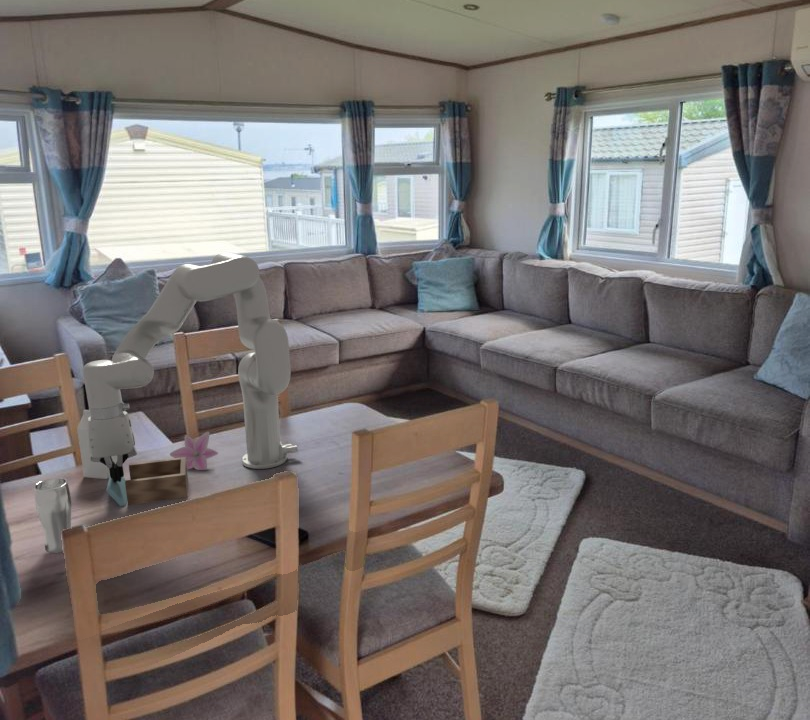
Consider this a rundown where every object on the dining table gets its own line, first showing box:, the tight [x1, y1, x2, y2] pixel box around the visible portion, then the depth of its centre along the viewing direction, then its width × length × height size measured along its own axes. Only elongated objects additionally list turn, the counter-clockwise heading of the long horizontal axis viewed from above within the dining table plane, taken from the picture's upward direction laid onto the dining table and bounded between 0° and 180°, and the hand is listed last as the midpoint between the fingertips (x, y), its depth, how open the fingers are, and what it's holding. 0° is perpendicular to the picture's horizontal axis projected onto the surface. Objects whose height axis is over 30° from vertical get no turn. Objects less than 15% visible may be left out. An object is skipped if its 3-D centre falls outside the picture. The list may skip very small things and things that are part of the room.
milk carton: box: [76, 409, 117, 480], centre depth 186 cm, size 7×7×19 cm
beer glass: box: [33, 477, 73, 554], centre depth 151 cm, size 7×7×15 cm
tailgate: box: [105, 477, 128, 507], centre depth 173 cm, size 1×12×6 cm
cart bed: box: [125, 457, 189, 506], centre depth 176 cm, size 14×12×7 cm
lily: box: [169, 431, 219, 471], centre depth 192 cm, size 12×12×10 cm
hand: (117, 479), depth 173 cm, fingers closed
